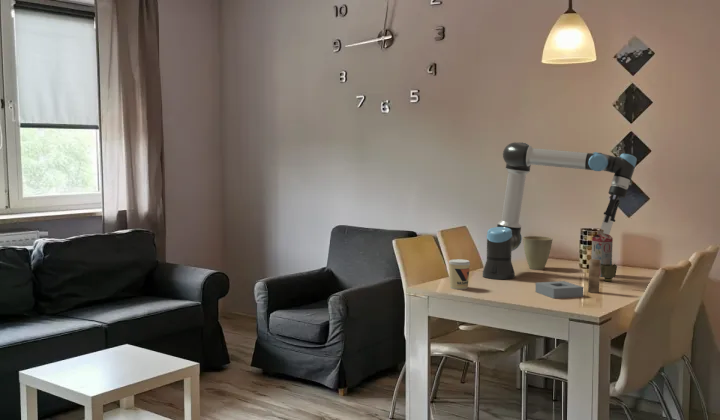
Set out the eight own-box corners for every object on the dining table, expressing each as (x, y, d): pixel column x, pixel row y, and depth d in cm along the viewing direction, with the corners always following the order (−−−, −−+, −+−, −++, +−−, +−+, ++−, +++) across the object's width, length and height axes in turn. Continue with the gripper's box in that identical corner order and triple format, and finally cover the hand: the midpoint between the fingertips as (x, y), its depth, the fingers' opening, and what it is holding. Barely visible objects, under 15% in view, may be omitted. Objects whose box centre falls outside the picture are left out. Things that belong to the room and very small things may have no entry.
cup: (617, 283, 320) (618, 266, 320) (600, 282, 322) (601, 265, 321) (615, 280, 328) (615, 263, 327) (598, 279, 329) (599, 262, 329)
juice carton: (611, 275, 340) (612, 231, 338) (601, 276, 337) (602, 231, 335) (601, 273, 346) (602, 229, 344) (590, 274, 343) (592, 230, 341)
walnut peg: (586, 291, 301) (587, 259, 300) (594, 290, 302) (595, 258, 301) (592, 293, 297) (593, 260, 296) (601, 292, 298) (602, 260, 297)
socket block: (535, 291, 299) (535, 282, 299) (563, 290, 303) (564, 281, 303) (553, 298, 286) (553, 288, 286) (583, 296, 290) (583, 287, 290)
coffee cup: (456, 290, 301) (456, 263, 300) (444, 286, 309) (444, 259, 308) (473, 288, 305) (474, 261, 304) (461, 285, 314) (461, 258, 313)
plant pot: (517, 269, 358) (518, 238, 357) (528, 265, 371) (529, 235, 369) (545, 271, 350) (546, 240, 349) (555, 268, 362) (556, 237, 361)
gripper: (626, 184, 304) (611, 230, 304) (628, 194, 327) (615, 237, 326) (608, 179, 308) (594, 225, 307) (612, 190, 330) (598, 233, 329)
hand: (604, 231), depth 317 cm, fingers open, 13 cm apart
